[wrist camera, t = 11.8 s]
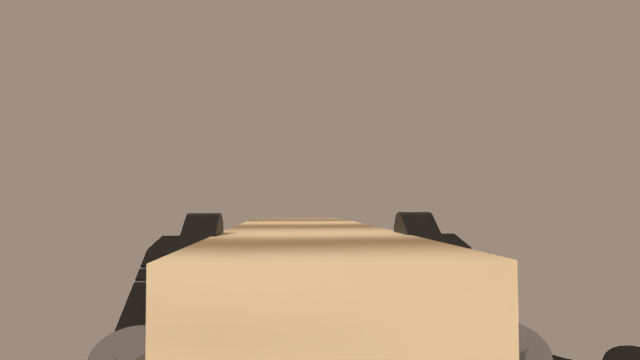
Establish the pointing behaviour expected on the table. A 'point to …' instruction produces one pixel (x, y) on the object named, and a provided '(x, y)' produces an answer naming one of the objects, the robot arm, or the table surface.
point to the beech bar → (329, 296)
